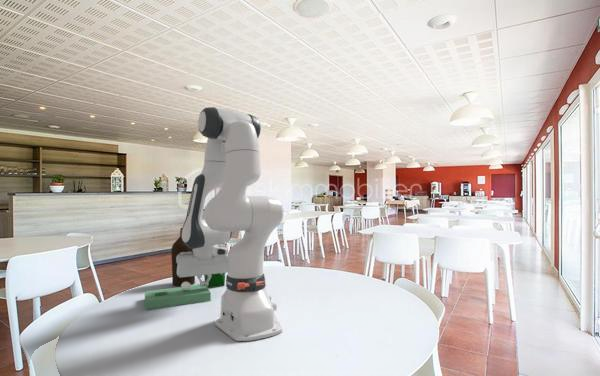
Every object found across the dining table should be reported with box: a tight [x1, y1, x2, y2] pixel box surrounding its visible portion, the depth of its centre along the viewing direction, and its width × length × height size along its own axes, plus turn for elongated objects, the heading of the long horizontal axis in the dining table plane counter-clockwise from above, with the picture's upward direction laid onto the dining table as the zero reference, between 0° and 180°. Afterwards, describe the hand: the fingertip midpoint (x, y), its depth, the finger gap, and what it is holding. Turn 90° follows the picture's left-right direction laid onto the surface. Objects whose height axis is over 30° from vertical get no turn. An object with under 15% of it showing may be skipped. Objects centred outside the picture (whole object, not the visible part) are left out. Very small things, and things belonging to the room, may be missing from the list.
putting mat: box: [144, 284, 212, 311], centre depth 121 cm, size 22×13×3 cm, turn 117°
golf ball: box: [180, 282, 192, 291], centre depth 123 cm, size 4×4×4 cm
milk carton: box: [203, 243, 227, 288], centre depth 143 cm, size 9×9×20 cm
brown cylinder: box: [170, 227, 196, 287], centre depth 145 cm, size 11×11×25 cm
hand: (204, 286), depth 126 cm, fingers closed
